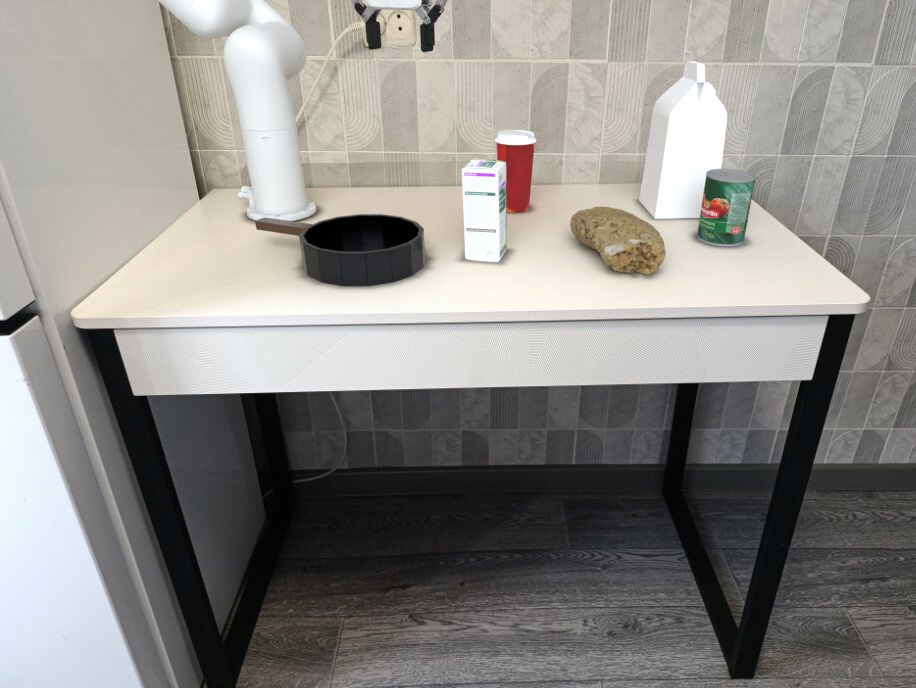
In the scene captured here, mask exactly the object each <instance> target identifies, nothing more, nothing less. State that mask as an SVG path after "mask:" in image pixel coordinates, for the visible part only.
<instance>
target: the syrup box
mask: <svg viewBox="0 0 916 688" xmlns="http://www.w3.org/2000/svg"><path fill="white" fill-rule="evenodd" d="M461 181H462V182H461V187H462V188H461V189H462V216H463V217H462V218H463V240H464V241H463V242H464V258H465V260H469V261H475V262H488V263H500V262H501V259H502V258H503V256H504V255H505V253H506V251H507V249H508V243H507V242H508V240H507V239H508V234H507V233H508V231H507V229H508V228H507V227H508V225H507V221H508V220H507V218H508V217H507V216H508V214H507V213H508V212H507V209H506V162H505V161H499V160H497V159H471V160H470V162H469V163H467V164H466V165H465V166H464V167H463V168H461Z"/></svg>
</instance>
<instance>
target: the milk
mask: <svg viewBox="0 0 916 688" xmlns="http://www.w3.org/2000/svg"><path fill="white" fill-rule="evenodd" d="M717 94H718V93H717V90H716V89H715V88H714V86H713V85H712V83H710V82H709V81H706V64H704V63H702V62H699V61H697V60H686V62H685V67H684V71H683V75H682V76H681V77H680V79H678V80H677V81H676V82H675V83H674V84H672V86H670V87H669V88H668V89H667V90H666V91H665V92H664V93H662V94H661V95H660V96H659V97H658V99H657V100H656V101H655V104H653V108H652V115H651V120H650V121H651V122H650V126H649V134H648V140H647V146H646V152H645V153H646V154H645V160H644V167H643V171H642V177H641V185H640V191H639V198H638V202H639V203H640V204H641V205H642V206H643V207H644V209H646V210H647V212H648V213H649V214H650V215H651V216H652V217H653V218H654V219H655V220H656V219H657V220H658V219H659V220H660V219H663V220H664V219H665V220H666V219H700V213H701V206H702V200H703V193H704V187H705V180H706V172H707V171H709V170H713V169H722V166H723V157H724V149H725V140H726V132H727V124H728V112H727V109H726V107H725V105H724V104H723V102H721V100H720V99H719V98H718V96H717Z"/></svg>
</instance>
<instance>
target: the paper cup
mask: <svg viewBox="0 0 916 688" xmlns="http://www.w3.org/2000/svg"><path fill="white" fill-rule="evenodd" d="M535 137H536V136H535V132H534V131H531V130H525V129H504V130H500V131H498V132H497V134H496V137H495V138H494V142H495V143H496V160H499V161H505V162H506V209H507V213H517V214H518V213H524V212H527V211H528V210H529V209H530V200H531V191H532V190H531V189H532V180H533V179H532V178H533V168H534V167H533V166H534V165H533V164H534V155H535V144H536V142H537V138H535Z"/></svg>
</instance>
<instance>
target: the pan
mask: <svg viewBox="0 0 916 688" xmlns="http://www.w3.org/2000/svg"><path fill="white" fill-rule="evenodd" d="M254 223H255V224H254V225H255V229H256V230H257V231H264V232H271V233H277V234H284V235H290V236H296V237H298V240H299V245H300V253H301V261H302V267H303V269H304V272H305V273H306V276H308V277H309V278H311V279H314V280H316V281H318V282H320V283H323V284H329V285H335V286H341V287H371V286H377V285H384V284H391V283H396V282H397V281H398V282H399V281H400V280H404V279H407V278H409V277H412V276H414V275H415V274H417V273H418V272H420V271H421V270H422V269H423V268H424V266H425V262H426V245H425V230H424V229H425V228H424V227H423V226H422V225H421V224H420V223H419V222H417V221H415V220H412V219H410V218H407V217H403V216H398V215H391V214H383V213H378V214H377V213H359V214H351V215H341V216H335V217H331V218H327V219H323V220H319V221H317V222H315V223H307V222H301V221H287V220H280V219H273V218H266V217H264V218H262V219H259V220H257V221H256V220H254Z"/></svg>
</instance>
